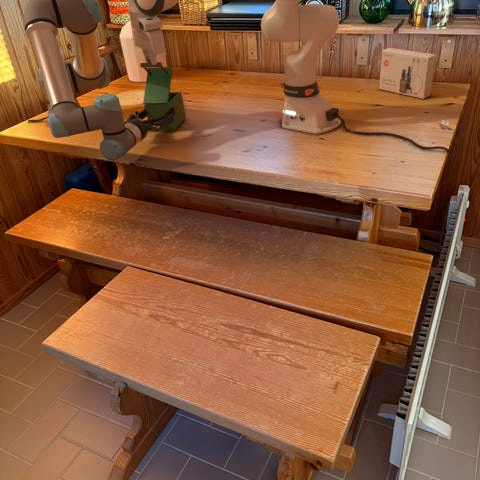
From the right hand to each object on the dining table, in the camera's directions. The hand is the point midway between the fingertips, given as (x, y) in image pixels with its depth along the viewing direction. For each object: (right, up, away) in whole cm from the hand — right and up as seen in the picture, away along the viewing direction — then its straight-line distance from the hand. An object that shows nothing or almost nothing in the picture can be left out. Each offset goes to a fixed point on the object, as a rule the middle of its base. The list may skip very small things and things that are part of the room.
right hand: (151, 63), depth 164 cm
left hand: (+2, -14, +10) cm, 17 cm away
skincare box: (+98, -3, +25) cm, 102 cm away
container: (-17, +24, +80) cm, 85 cm away
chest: (+4, -17, +17) cm, 25 cm away
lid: (+1, -6, +7) cm, 9 cm away
